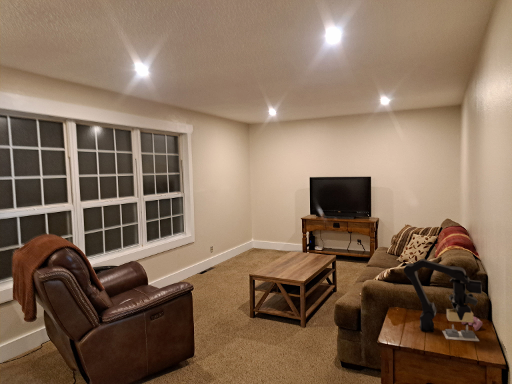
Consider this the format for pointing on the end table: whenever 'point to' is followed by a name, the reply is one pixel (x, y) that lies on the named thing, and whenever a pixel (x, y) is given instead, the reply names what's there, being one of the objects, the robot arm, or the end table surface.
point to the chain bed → (460, 334)
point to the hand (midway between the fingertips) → (459, 318)
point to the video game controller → (476, 324)
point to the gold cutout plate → (453, 316)
